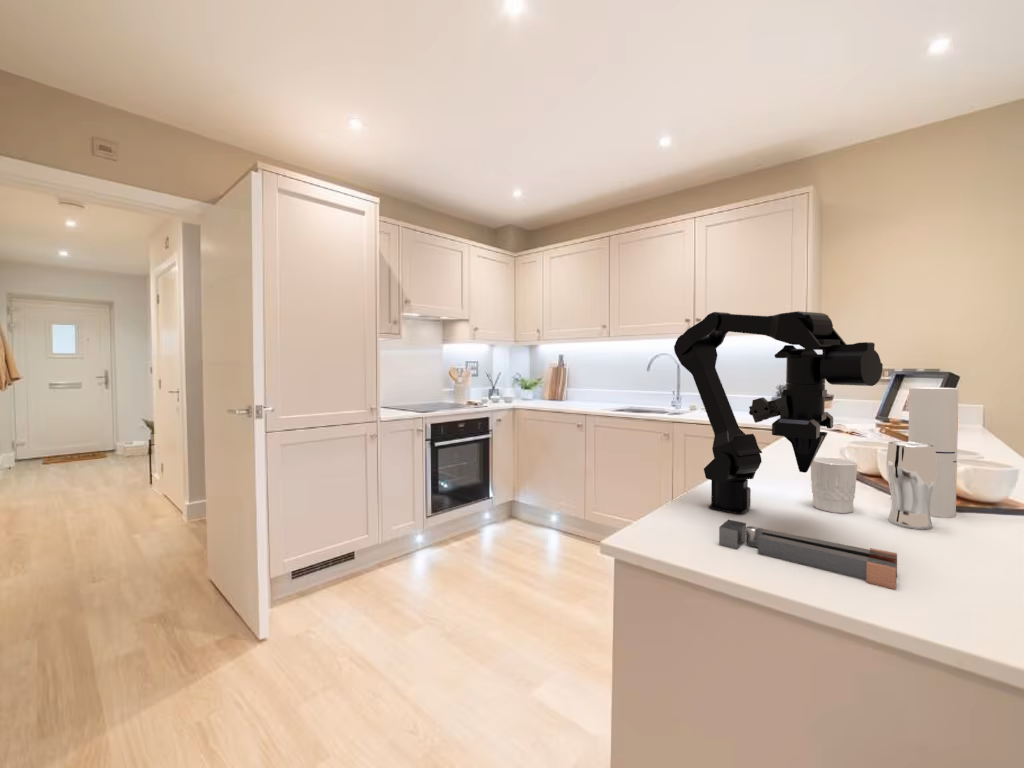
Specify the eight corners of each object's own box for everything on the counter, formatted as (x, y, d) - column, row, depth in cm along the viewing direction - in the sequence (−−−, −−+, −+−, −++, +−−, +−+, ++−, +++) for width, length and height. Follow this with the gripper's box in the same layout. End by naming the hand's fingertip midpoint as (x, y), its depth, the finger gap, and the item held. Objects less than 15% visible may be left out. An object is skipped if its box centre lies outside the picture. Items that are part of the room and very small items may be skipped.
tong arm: (744, 544, 73) (744, 528, 73) (748, 539, 75) (748, 524, 75) (896, 578, 61) (897, 559, 61) (896, 571, 63) (896, 553, 63)
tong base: (718, 545, 73) (718, 527, 73) (728, 536, 77) (728, 519, 77) (895, 589, 58) (895, 566, 58) (897, 575, 62) (897, 554, 62)
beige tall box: (897, 507, 93) (899, 387, 92) (928, 505, 93) (931, 387, 92) (932, 518, 85) (935, 389, 85) (966, 516, 86) (969, 388, 85)
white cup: (843, 517, 87) (844, 466, 87) (801, 506, 94) (802, 459, 94) (864, 510, 90) (865, 462, 90) (822, 500, 97) (823, 455, 97)
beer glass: (945, 531, 78) (947, 447, 78) (900, 529, 80) (902, 446, 79) (918, 518, 85) (920, 441, 85) (877, 516, 87) (878, 440, 86)
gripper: (767, 381, 90) (765, 457, 91) (739, 384, 76) (737, 474, 77) (834, 382, 82) (832, 465, 83) (816, 386, 69) (814, 485, 69)
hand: (803, 471), depth 78 cm, fingers closed
